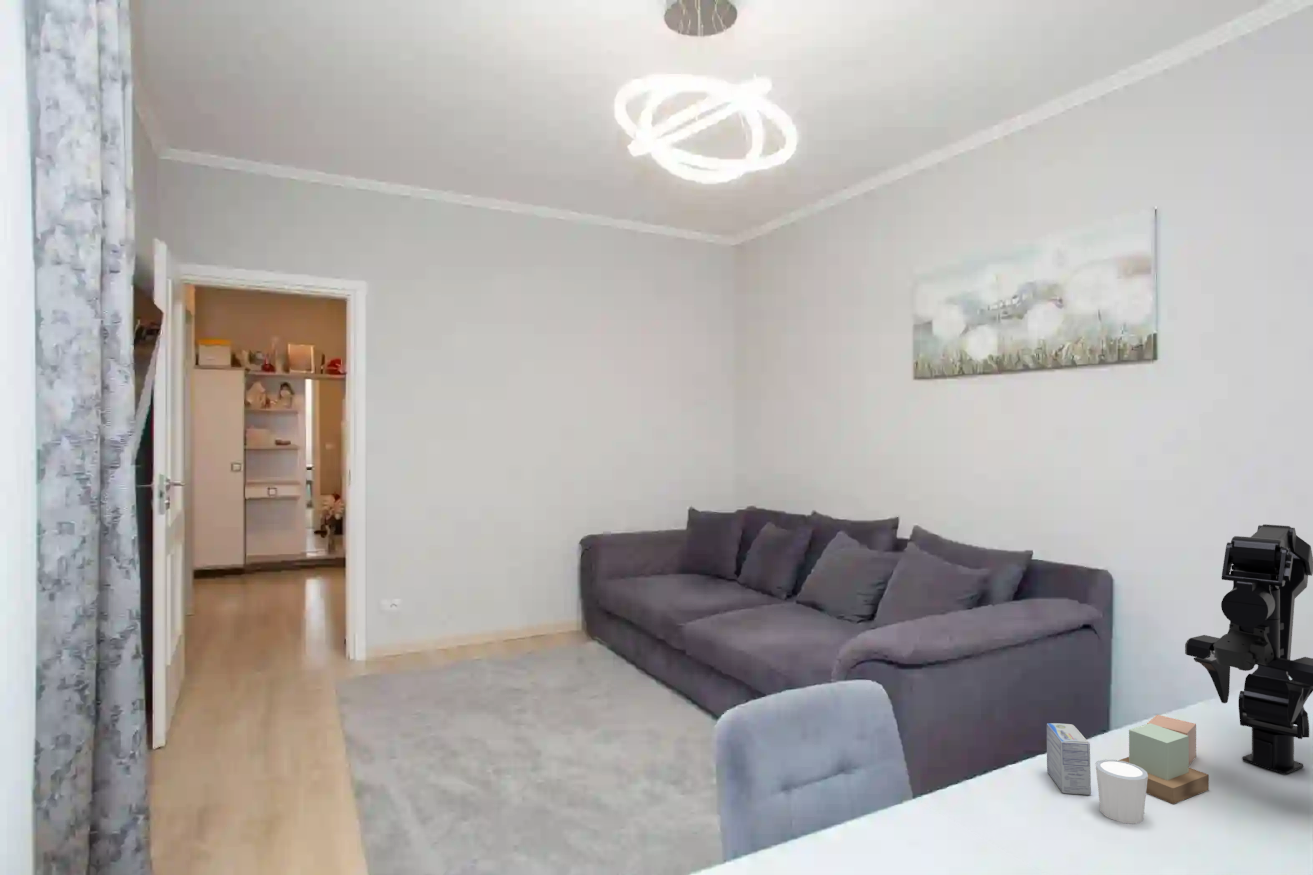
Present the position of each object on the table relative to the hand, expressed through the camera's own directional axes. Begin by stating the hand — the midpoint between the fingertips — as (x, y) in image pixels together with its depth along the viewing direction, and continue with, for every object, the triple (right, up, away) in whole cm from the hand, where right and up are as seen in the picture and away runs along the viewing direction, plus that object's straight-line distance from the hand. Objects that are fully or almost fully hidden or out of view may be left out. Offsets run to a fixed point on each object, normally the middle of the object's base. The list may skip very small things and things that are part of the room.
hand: (1256, 711), depth 120 cm
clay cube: (-4, -13, +14) cm, 19 cm away
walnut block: (-14, -13, +3) cm, 19 cm away
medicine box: (-29, -14, +4) cm, 32 cm away
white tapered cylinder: (-26, -14, -6) cm, 30 cm away
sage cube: (-14, -11, +3) cm, 18 cm away
